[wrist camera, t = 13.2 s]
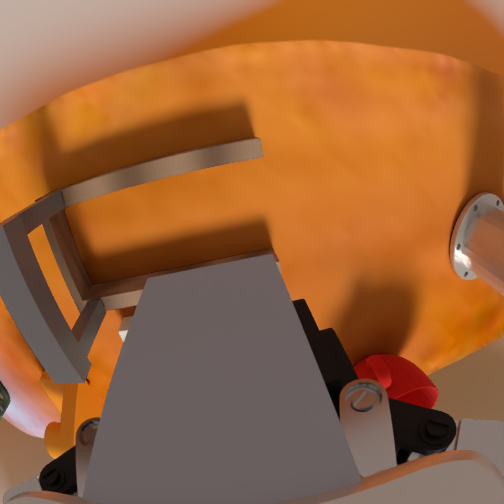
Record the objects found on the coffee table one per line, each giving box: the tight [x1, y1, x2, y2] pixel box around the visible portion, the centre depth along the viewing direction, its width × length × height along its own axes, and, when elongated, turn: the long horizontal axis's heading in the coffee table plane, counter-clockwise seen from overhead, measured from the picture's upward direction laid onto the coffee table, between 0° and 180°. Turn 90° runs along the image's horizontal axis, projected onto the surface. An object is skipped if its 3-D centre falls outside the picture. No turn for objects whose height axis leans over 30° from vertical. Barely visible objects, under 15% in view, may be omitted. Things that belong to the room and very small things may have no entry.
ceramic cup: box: [353, 354, 438, 409], centre depth 33 cm, size 13×17×10 cm
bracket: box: [39, 370, 104, 459], centre depth 28 cm, size 11×7×12 cm, turn 2°
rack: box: [35, 137, 281, 314], centre depth 25 cm, size 20×12×3 cm, turn 99°
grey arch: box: [0, 191, 106, 383], centre depth 18 cm, size 3×12×9 cm, turn 9°
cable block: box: [82, 254, 362, 504], centre depth 8 cm, size 5×5×9 cm
